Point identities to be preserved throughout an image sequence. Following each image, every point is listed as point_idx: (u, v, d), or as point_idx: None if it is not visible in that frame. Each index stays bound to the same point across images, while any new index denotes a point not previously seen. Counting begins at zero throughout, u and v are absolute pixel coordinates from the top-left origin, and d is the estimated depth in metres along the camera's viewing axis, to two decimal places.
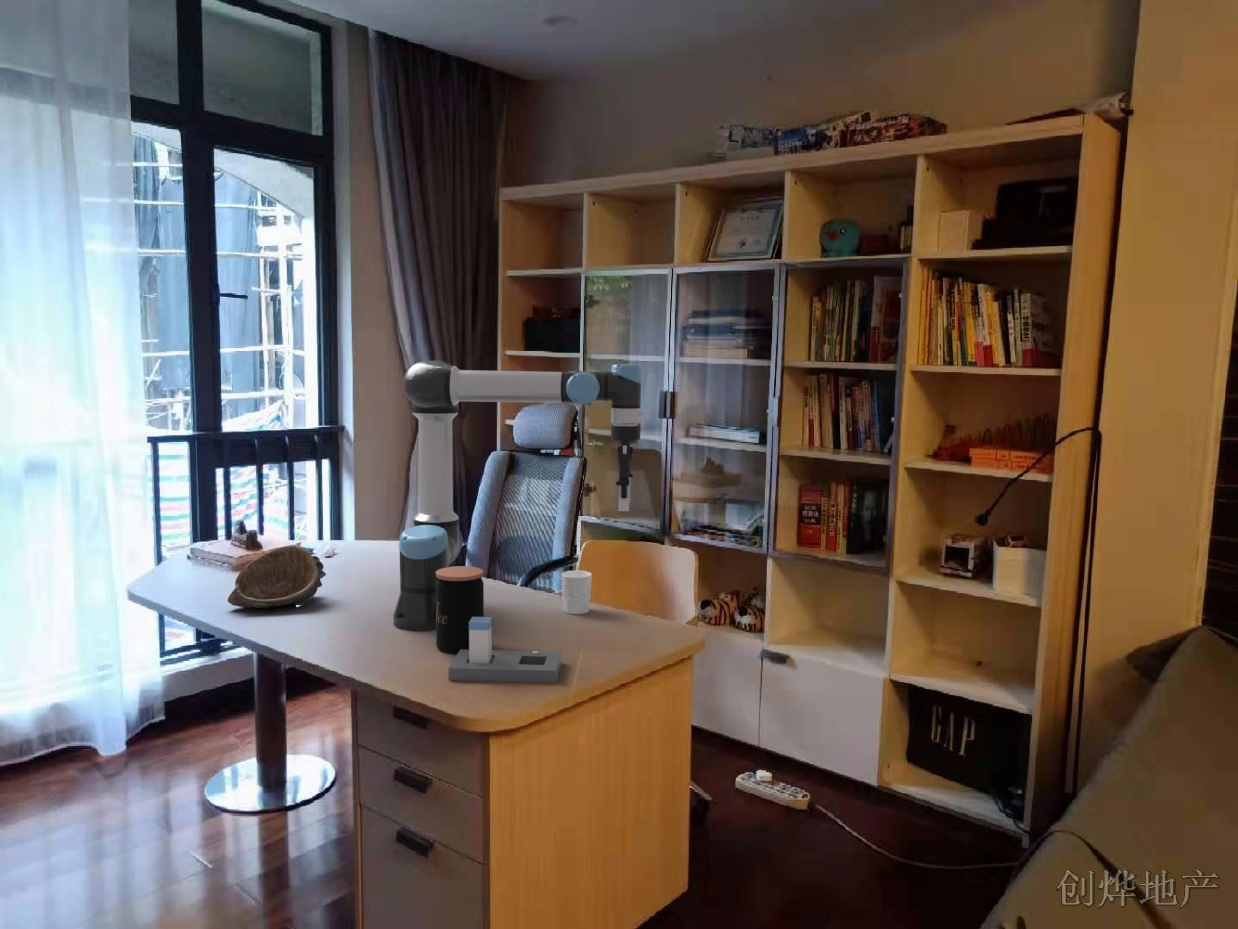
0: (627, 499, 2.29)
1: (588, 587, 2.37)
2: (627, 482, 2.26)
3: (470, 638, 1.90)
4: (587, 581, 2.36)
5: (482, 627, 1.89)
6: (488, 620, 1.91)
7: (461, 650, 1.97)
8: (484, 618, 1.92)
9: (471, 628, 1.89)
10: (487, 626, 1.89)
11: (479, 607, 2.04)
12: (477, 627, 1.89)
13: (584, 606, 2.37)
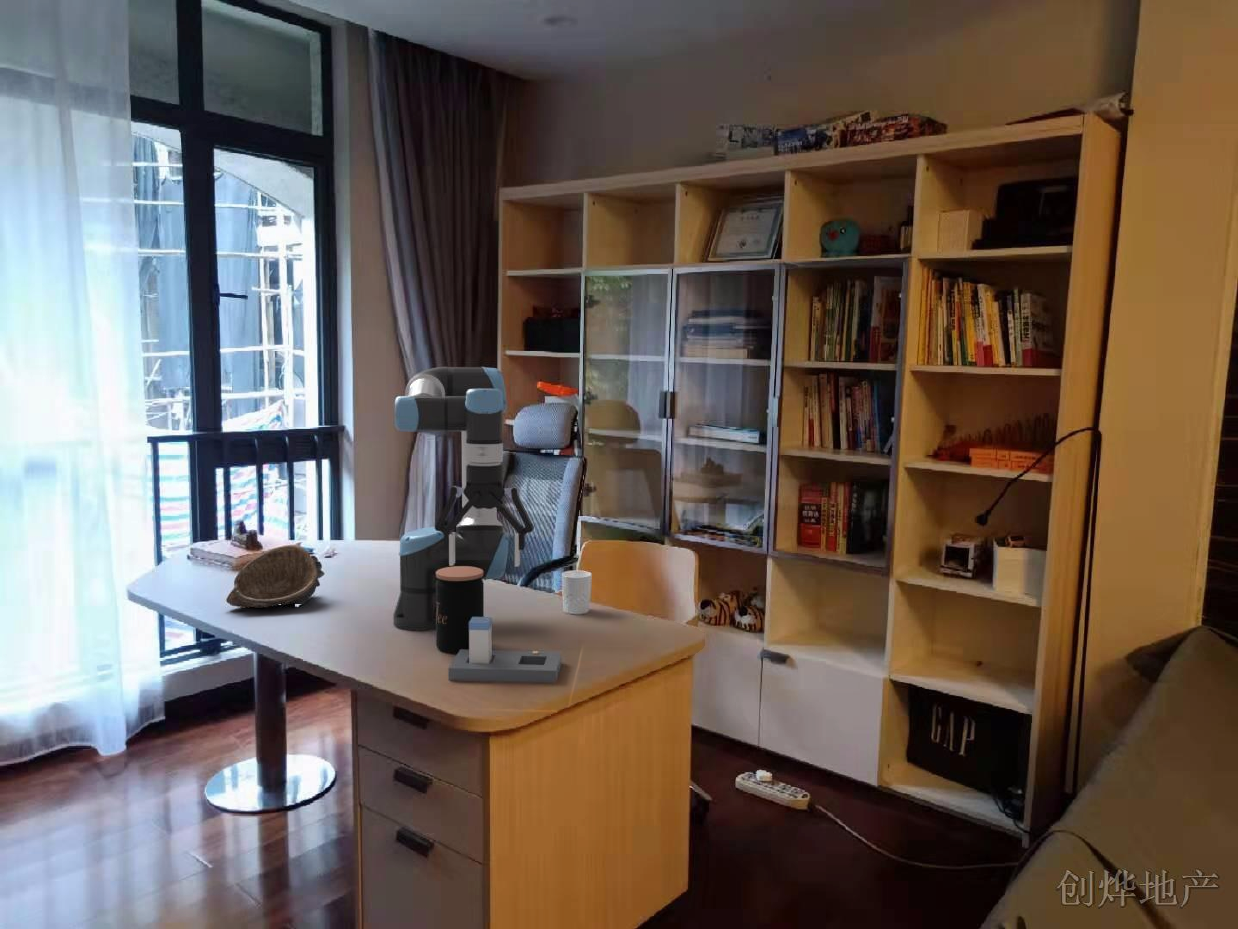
0: None
1: (588, 587, 2.37)
2: None
3: (470, 638, 1.90)
4: (587, 581, 2.36)
5: (482, 627, 1.89)
6: (488, 620, 1.91)
7: (461, 650, 1.97)
8: (484, 618, 1.92)
9: (471, 628, 1.89)
10: (487, 626, 1.89)
11: (479, 607, 2.04)
12: (477, 627, 1.89)
13: (584, 606, 2.37)
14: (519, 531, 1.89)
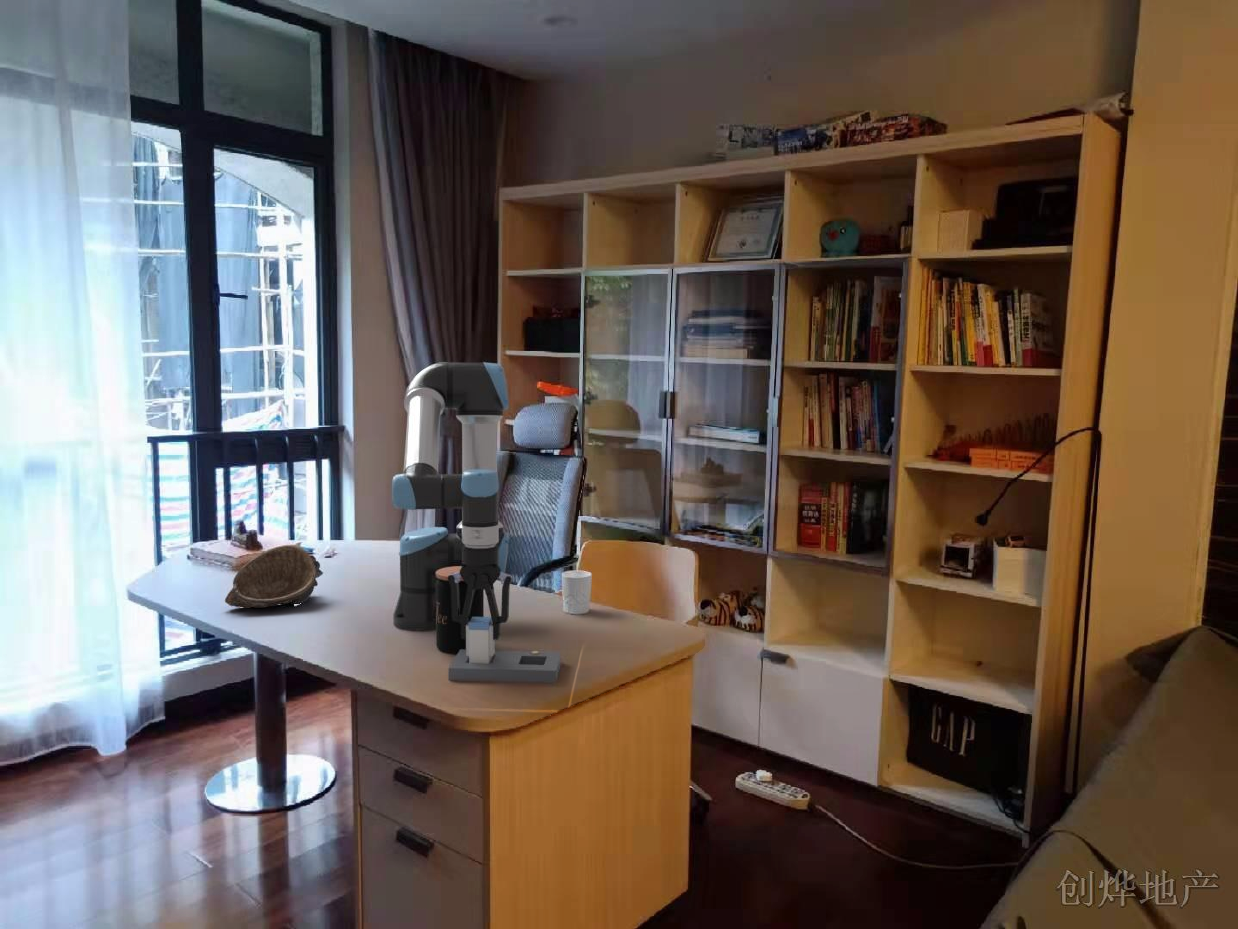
0: None
1: (588, 587, 2.37)
2: None
3: (470, 638, 1.90)
4: (587, 581, 2.36)
5: (482, 627, 1.89)
6: (488, 620, 1.91)
7: (461, 650, 1.97)
8: (484, 618, 1.92)
9: (471, 628, 1.89)
10: (487, 626, 1.89)
11: (479, 607, 2.04)
12: (477, 627, 1.89)
13: (584, 606, 2.37)
14: (494, 621, 1.90)
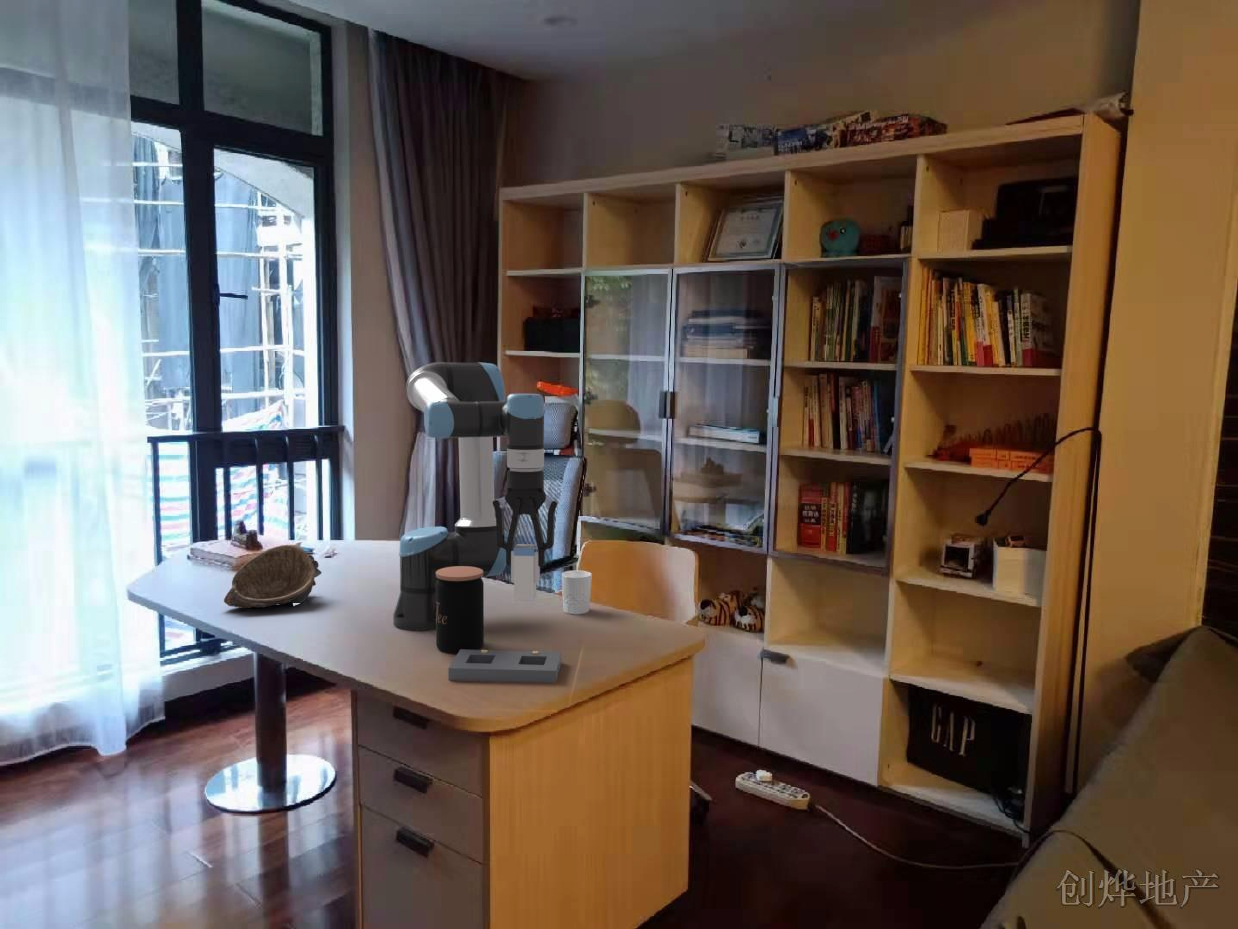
0: None
1: (588, 587, 2.37)
2: None
3: (515, 564, 1.87)
4: (587, 581, 2.36)
5: (527, 553, 1.86)
6: (533, 546, 1.88)
7: (461, 650, 1.97)
8: (529, 545, 1.90)
9: (516, 554, 1.87)
10: (532, 552, 1.86)
11: (479, 607, 2.04)
12: (522, 553, 1.87)
13: (584, 606, 2.37)
14: (539, 547, 1.87)
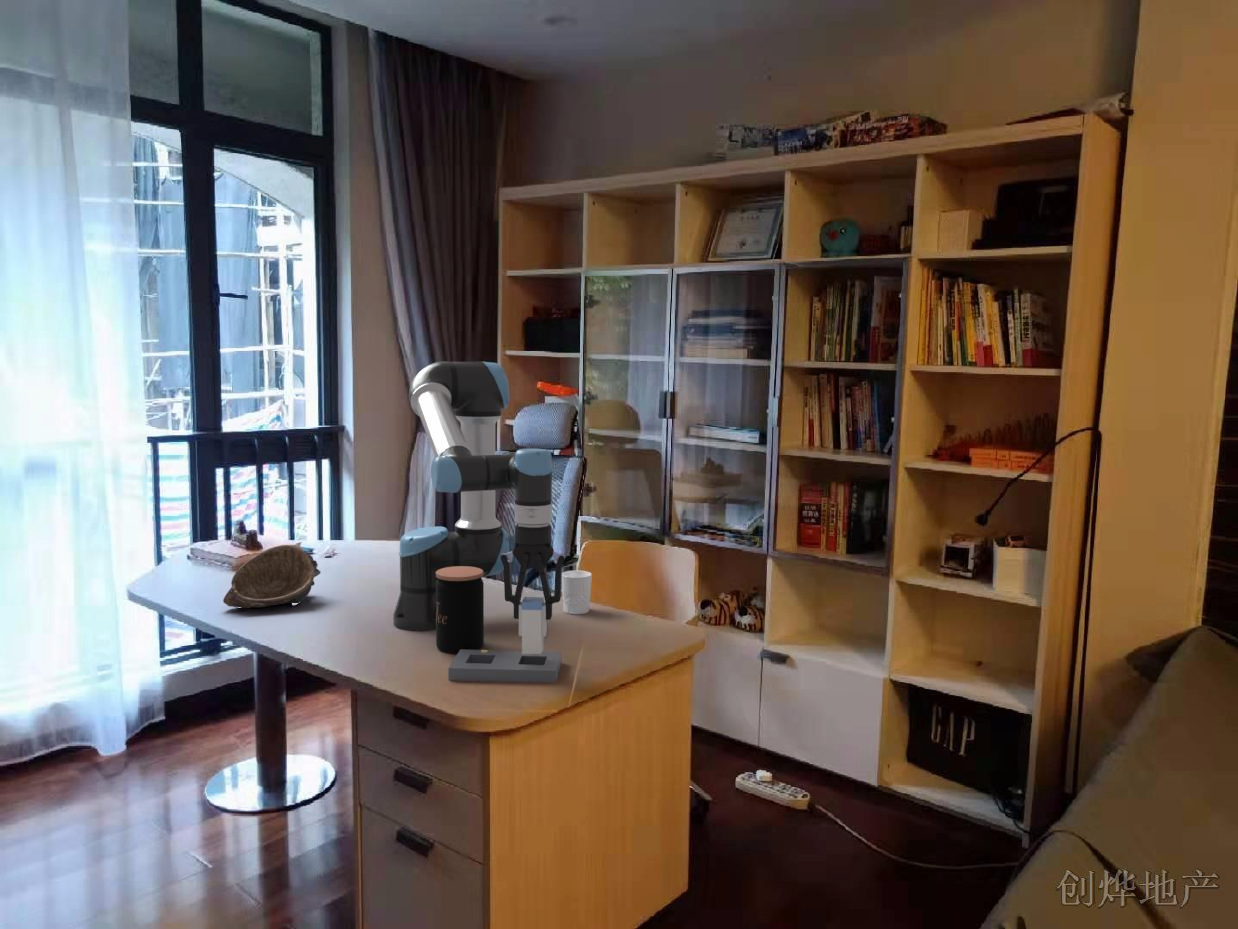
0: None
1: (588, 587, 2.37)
2: None
3: (523, 618, 1.89)
4: (587, 581, 2.36)
5: (535, 607, 1.88)
6: (541, 600, 1.90)
7: (461, 650, 1.97)
8: (536, 598, 1.91)
9: (524, 608, 1.88)
10: (540, 606, 1.88)
11: (479, 607, 2.04)
12: (530, 607, 1.88)
13: (584, 606, 2.37)
14: (547, 600, 1.89)
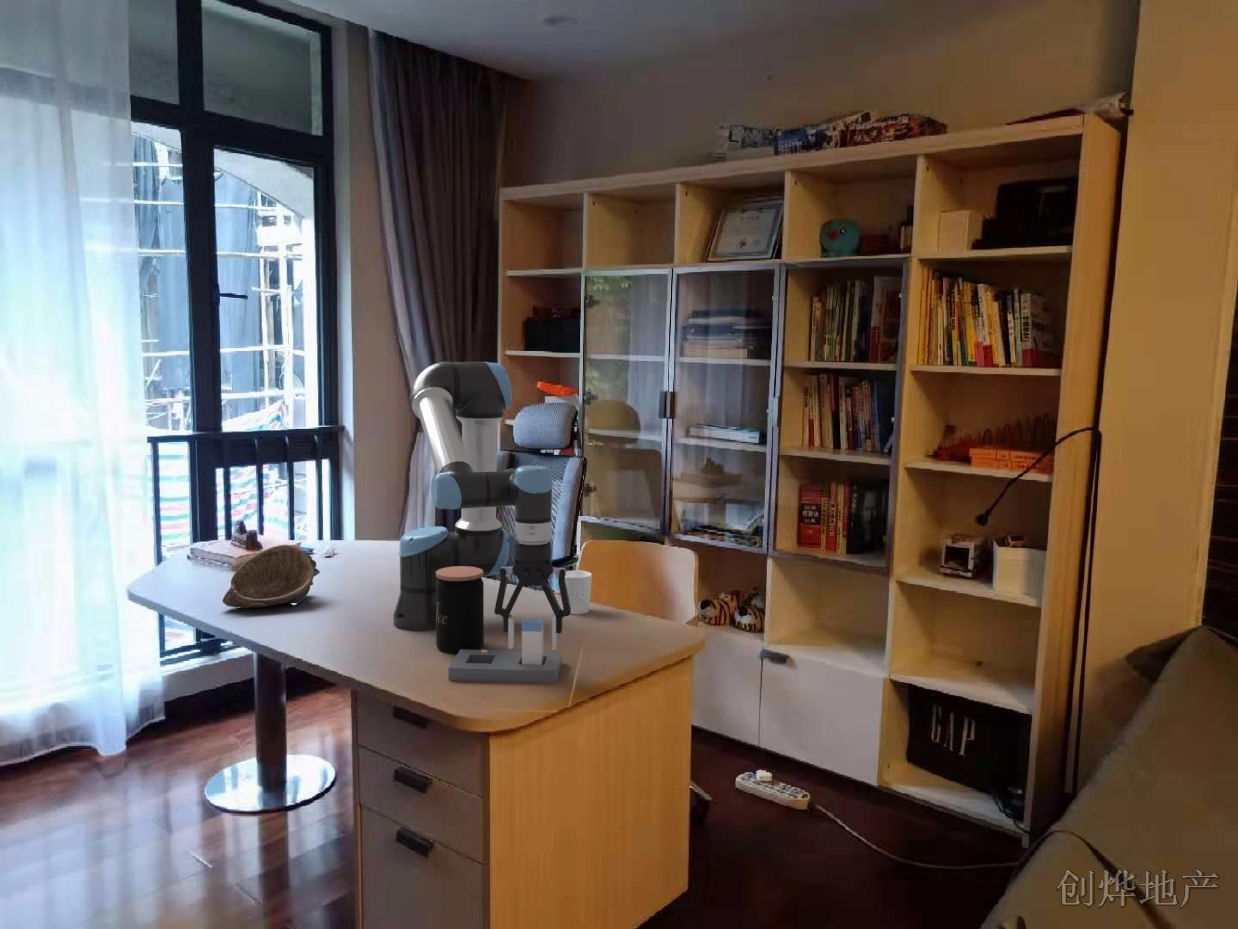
0: None
1: (588, 587, 2.37)
2: None
3: (523, 639, 1.89)
4: (587, 581, 2.36)
5: (535, 628, 1.89)
6: (540, 621, 1.90)
7: (461, 650, 1.97)
8: (536, 619, 1.92)
9: (524, 629, 1.89)
10: (540, 627, 1.89)
11: (479, 607, 2.04)
12: (530, 628, 1.89)
13: (584, 606, 2.37)
14: (557, 614, 1.89)
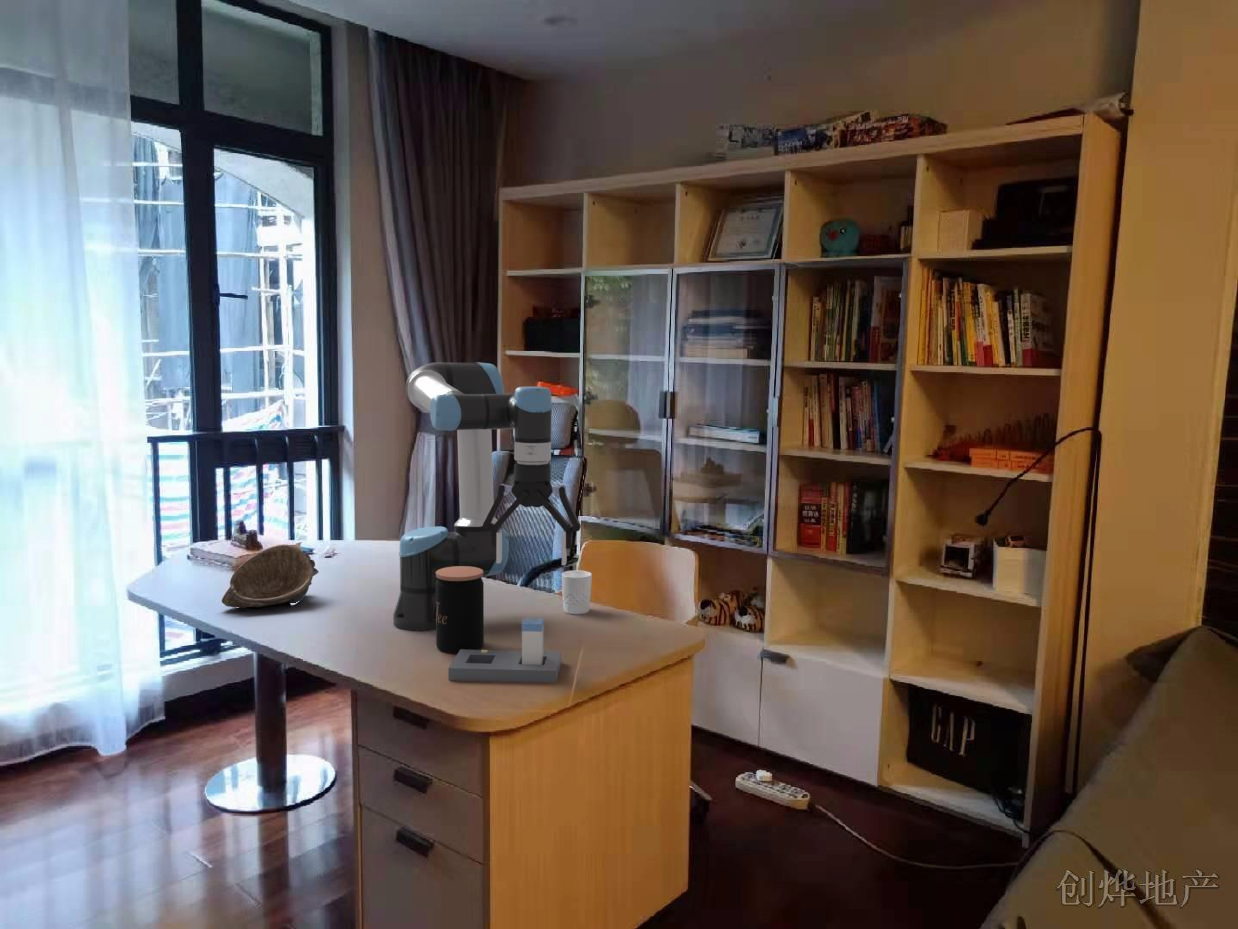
0: None
1: (588, 587, 2.37)
2: None
3: (523, 639, 1.89)
4: (587, 581, 2.36)
5: (535, 628, 1.89)
6: (540, 621, 1.90)
7: (461, 650, 1.97)
8: (536, 619, 1.92)
9: (524, 629, 1.89)
10: (540, 627, 1.89)
11: (479, 607, 2.04)
12: (530, 628, 1.89)
13: (584, 606, 2.37)
14: (566, 530, 1.88)
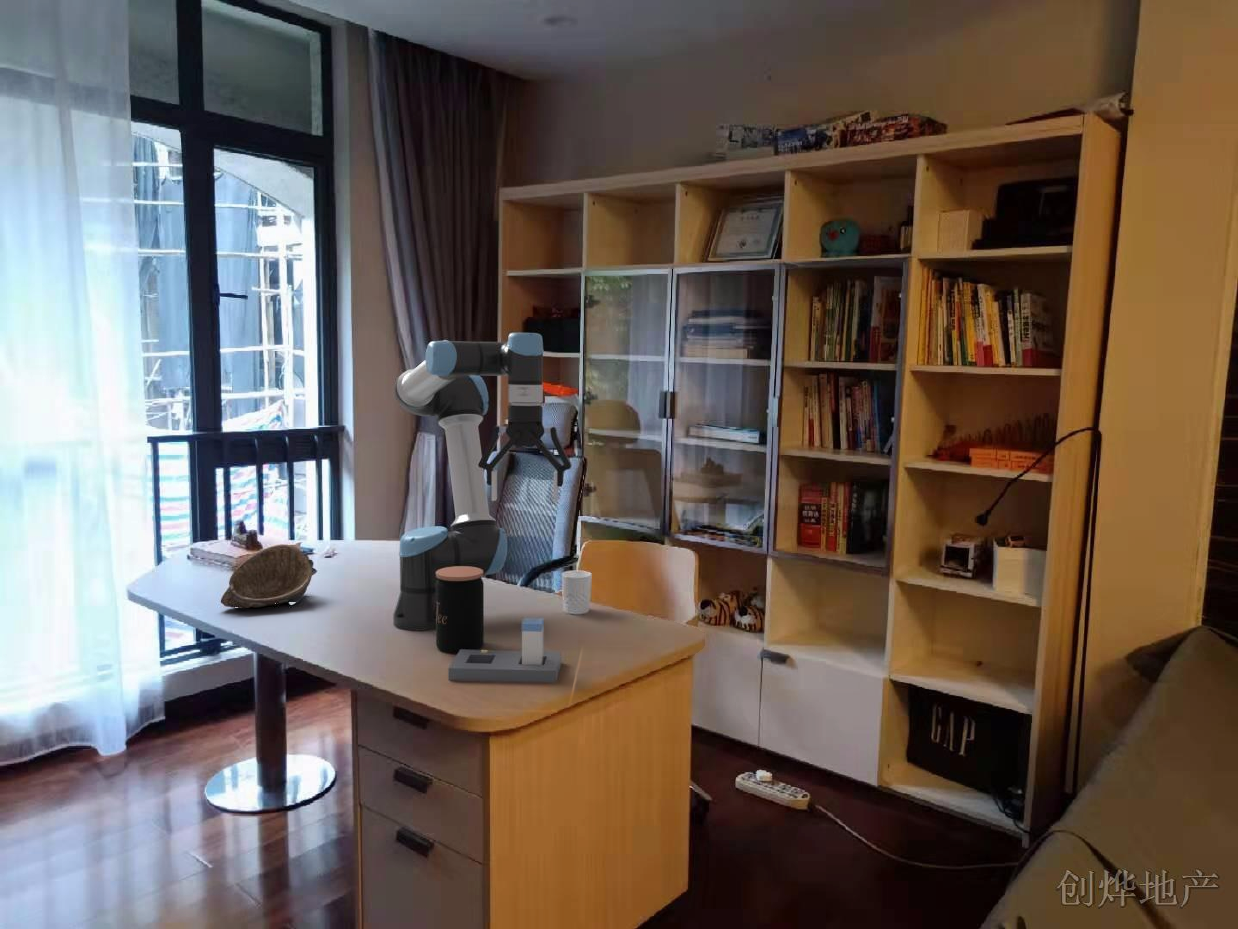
0: None
1: (588, 587, 2.37)
2: None
3: (523, 639, 1.89)
4: (587, 581, 2.36)
5: (535, 628, 1.89)
6: (540, 621, 1.90)
7: (461, 650, 1.97)
8: (536, 619, 1.92)
9: (524, 629, 1.89)
10: (540, 627, 1.89)
11: (479, 607, 2.04)
12: (530, 628, 1.89)
13: (584, 606, 2.37)
14: (558, 468, 1.99)
